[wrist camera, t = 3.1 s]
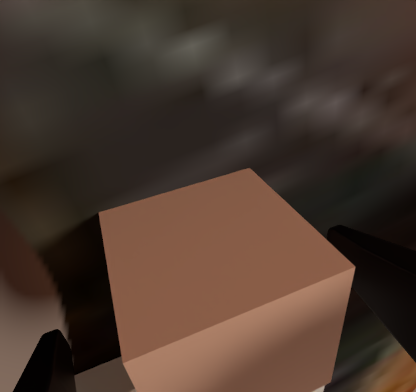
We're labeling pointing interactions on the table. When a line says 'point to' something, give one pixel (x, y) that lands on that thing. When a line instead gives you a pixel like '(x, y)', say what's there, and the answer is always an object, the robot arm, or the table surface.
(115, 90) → the table surface
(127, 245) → the terracotta block
